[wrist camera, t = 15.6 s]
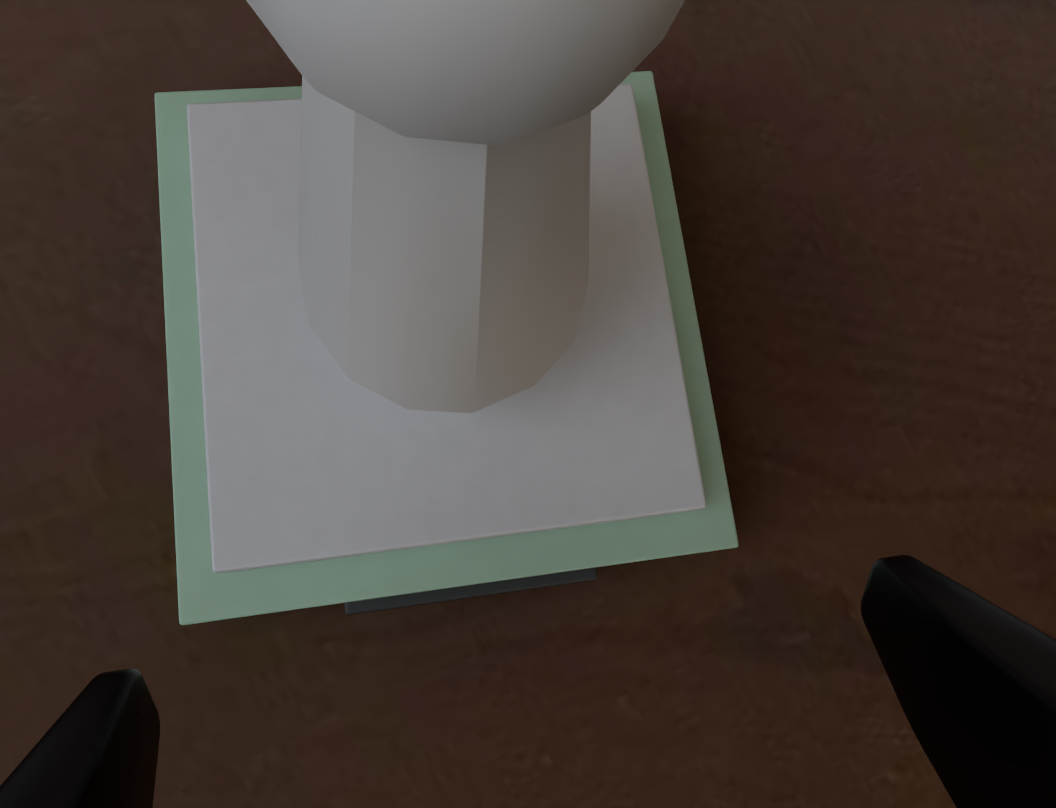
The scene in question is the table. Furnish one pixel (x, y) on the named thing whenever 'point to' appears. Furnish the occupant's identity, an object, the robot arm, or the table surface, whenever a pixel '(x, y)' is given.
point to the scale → (415, 435)
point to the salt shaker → (451, 181)
